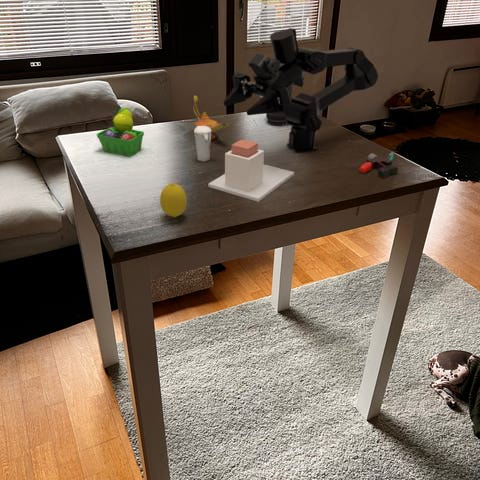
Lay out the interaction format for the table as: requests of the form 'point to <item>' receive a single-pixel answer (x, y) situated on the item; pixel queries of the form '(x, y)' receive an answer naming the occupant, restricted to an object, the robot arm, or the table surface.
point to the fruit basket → (121, 135)
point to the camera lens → (278, 114)
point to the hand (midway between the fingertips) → (235, 108)
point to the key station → (249, 176)
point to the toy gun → (380, 165)
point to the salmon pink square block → (244, 148)
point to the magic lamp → (207, 121)
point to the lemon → (173, 200)
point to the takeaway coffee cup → (203, 142)
